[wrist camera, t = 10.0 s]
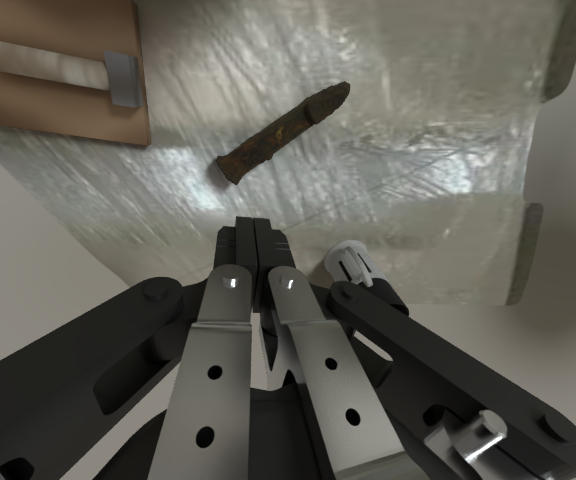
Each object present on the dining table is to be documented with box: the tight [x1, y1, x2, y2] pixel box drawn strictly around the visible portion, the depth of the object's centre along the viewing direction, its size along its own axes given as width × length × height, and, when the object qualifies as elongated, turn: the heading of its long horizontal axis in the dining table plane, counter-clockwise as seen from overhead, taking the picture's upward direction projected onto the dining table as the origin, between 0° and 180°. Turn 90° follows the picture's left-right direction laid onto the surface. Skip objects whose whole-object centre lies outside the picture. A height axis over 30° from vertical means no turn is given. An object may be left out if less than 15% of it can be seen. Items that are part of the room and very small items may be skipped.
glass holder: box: [324, 240, 409, 317], centre depth 39 cm, size 9×14×15 cm, turn 24°
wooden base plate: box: [0, 0, 151, 146], centre depth 23 cm, size 13×18×4 cm
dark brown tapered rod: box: [217, 81, 350, 185], centre depth 31 cm, size 19×4×5 cm, turn 119°
